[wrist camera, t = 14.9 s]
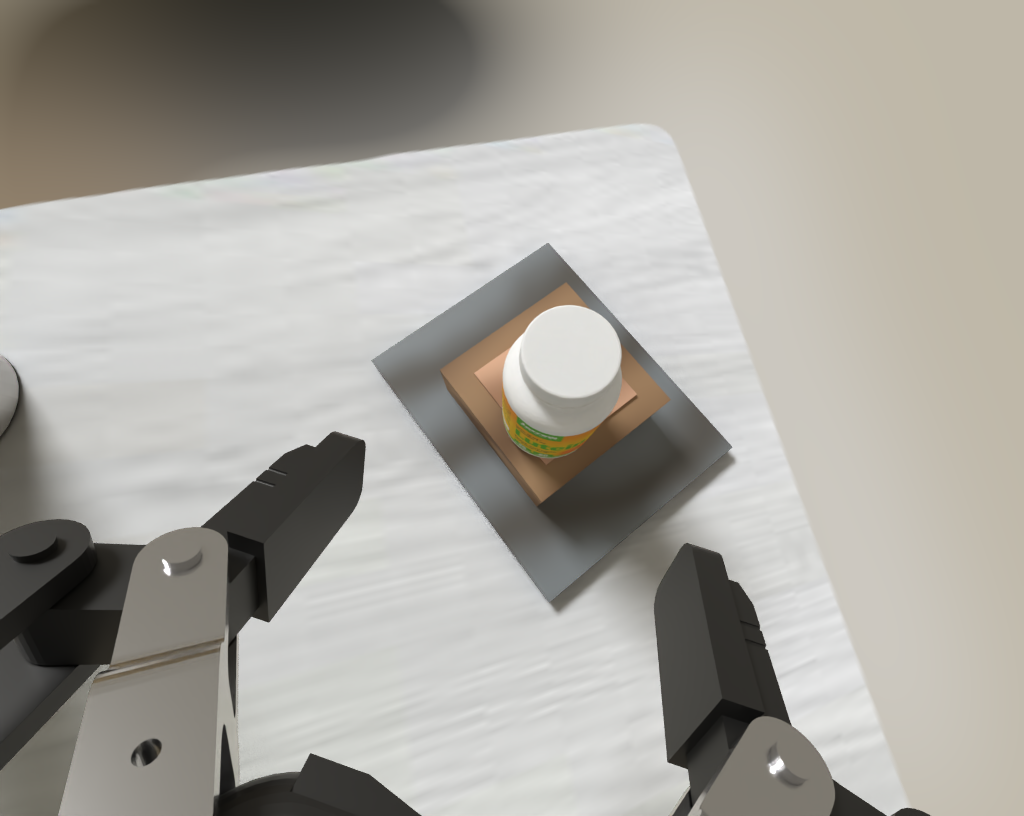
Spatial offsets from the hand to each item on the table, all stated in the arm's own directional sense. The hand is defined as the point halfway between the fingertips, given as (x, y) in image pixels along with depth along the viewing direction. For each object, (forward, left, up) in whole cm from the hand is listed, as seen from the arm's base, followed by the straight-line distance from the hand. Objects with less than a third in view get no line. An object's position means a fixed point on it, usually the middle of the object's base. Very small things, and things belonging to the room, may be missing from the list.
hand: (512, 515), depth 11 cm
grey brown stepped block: (-5, +7, -20) cm, 22 cm away
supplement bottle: (-4, +6, -15) cm, 16 cm away
